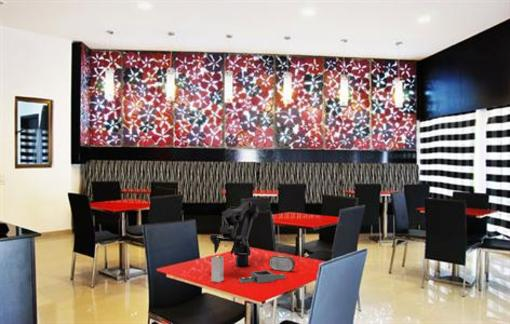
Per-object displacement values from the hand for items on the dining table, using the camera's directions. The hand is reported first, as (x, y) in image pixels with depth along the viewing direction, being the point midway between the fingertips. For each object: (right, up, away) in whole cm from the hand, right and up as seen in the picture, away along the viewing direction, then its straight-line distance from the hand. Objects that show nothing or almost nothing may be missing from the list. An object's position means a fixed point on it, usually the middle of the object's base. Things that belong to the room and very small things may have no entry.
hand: (222, 253), depth 233 cm
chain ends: (+21, -13, -5) cm, 25 cm away
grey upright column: (-2, -13, -6) cm, 14 cm away
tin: (+32, -13, +14) cm, 37 cm away
